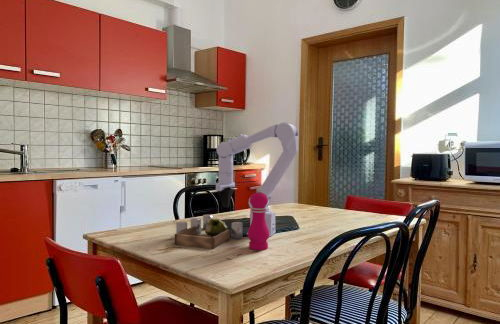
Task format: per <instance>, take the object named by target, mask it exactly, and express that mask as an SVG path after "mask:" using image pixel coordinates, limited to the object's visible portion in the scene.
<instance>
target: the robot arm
mask: <svg viewBox="0 0 500 324" xmlns="http://www.w3.org/2000/svg"><path fill="white" fill-rule="evenodd" d="M299 136H300V135H299V132H298V129H297V127H296V125H294V124H292V123H288V122H281V123H279V124H274V125H270V126H269V127H266V128H264V129H261V130H260V131H257V132H255V133H253V134H251V135H247V134H242V133H240V134H238V136H237V137H234V138H232V139H231V138H230V139H227V142H225V141H221V142H220V143H218V145H217V146H216V151H215V152H216V154H217V156H218V182H217V183H215V191H216V192H217V194H218V196H219V199H220V201H221V206H222V208H229V207H230V203H231V199H232V196H233V194H234V192H235V187H236V182H234V156H235V155H236V154H239V153H241V152H244V151H246V150H249V149H251V146H252V145H253V144H255V143H258V142H261V141H264V140H266V139H269V138H278V140H279V141H280V143H281V146H282V150H283V151H282V152H281V154H280V156H279V157H278V159H277V161H276V162H275V163H274V166H273V167H272V169H271V170H270V172H269V174H268V175H267V176H266V178H265V179H264V181H263V183H262V185H261V186H259V188H261V190H262V191H261V193H264V194H265V195H266V196H267V198H268V203H267V205H266V206H265V207H266V212H265V221H266V224H267V227H268V229H269V238H270V237H271V236H273V235H274V234H275V233H277V232H276V212H275V211H270V208H269V206H270V204H271V200H272V196H273V194H274V191H275V190H276V189H277V186H278V185H279V183H280V182H281V180H282V178H283V177H284V175H285V173H286V172H287V171H288V169H289V167H290V165H291V164H292V163H293V161H294V159H296V156H297V155H298V152H299V138H300V137H299ZM255 193H257V191H256V192H255ZM248 207H249V211H250V213H249V216H250V217H249V218H250V220H249V221H250V222H249V223H250V224H249V226H250V225H251V223H252V218H253V212H252V211H251V210H252V209H251V207H252V205H251V204H250V198H249V199H248ZM246 235H248V232H246Z"/></svg>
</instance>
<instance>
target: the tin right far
mask: <svg viewBox="0 0 500 324" xmlns="http://www.w3.org/2000/svg"><path fill="white" fill-rule="evenodd" d="M175 225H176V226H175V228H176V229H175V234H177V233H179V232H182V231H184V230H186V229H188V222H187V221H178V222H175Z"/></svg>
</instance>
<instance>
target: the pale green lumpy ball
mask: <svg viewBox="0 0 500 324" xmlns="http://www.w3.org/2000/svg"><path fill="white" fill-rule="evenodd" d="M226 230H228V226H227V224H226V223H225V221H222V220H221V219H220V218H218V217H213V218H209V219H208V220H207V227H206V230H205V231H204V233H205V235H208V236H216V235H218V234H220V233H222V232H224V231H226Z"/></svg>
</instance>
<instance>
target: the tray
mask: <svg viewBox="0 0 500 324" xmlns="http://www.w3.org/2000/svg"><path fill="white" fill-rule="evenodd" d="M229 240H231V229H230V228H229V229H228V228H227V230H226V231H224V232H220V233H218V234H216V236H210V235H207V234H196V226H194V227H191V226H190V227H189V228H187V229H186V230H184V231H182V232H179V233H177V234H176V233H174V245H175V246H176V245H177V246H185V247H192V248H193V247H194V248H202V249H211V250H212V249H213V250H215V248H218V247H219V246H221V245H222V244H224V243H226V242H228V241H229Z"/></svg>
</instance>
